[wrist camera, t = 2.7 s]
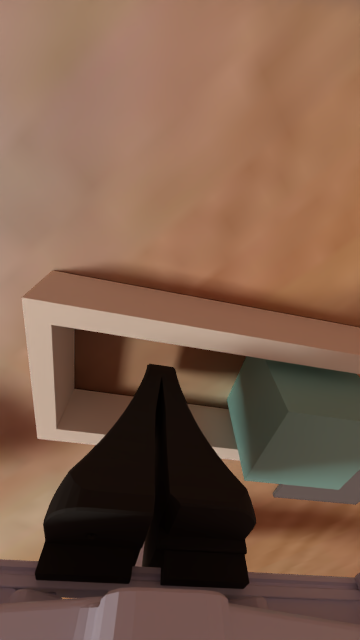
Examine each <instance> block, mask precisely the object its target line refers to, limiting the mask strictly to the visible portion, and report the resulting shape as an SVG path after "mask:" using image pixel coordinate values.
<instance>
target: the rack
mask: <svg viewBox="0 0 360 640" xmlns="http://www.w3.org/2000/svg"><path fill="white" fill-rule="evenodd" d="M22 305H23V314H24V323H25V332H26V340H27V349H28V358H29V367H30V376H31V385H32V394H33V403H34V412H35V421H36V430H37V439H45V440H54V441H63V442H73V443H82V444H91V445H97V444H98V443H99V442H100V441H101V439H102V438H103V437H104V436H105V435H106V434H107V433H108V432H109V430H110V429H111V428H112V427H113V425H114V424H115V423H116V422H117V420H118V419H119V418H120V416H121V415H122V414H123V412H124V411H125V409H126V408H127V407H128V405H129V403H130V402H131V400H132V399H133V396H125V395H118V394H110V393H103V392H95V391H87V390H80V389H74V361H75V329H81V330H87V331H94V332H100V333H106V334H112V335H119V336H125V337H131V338H137V339H143V340H150V341H156V342H162V343H168V344H175V345H181V346H187V347H193V348H199V349H206V350H212V351H218V352H224V353H231V354H237V355H243V356H249V357H255V358H262V359H268V360H274V361H280V362H287V363H293V364H299V365H305V366H311V367H318V368H324V369H330V370H336V371H343V372H349V373H355V374H360V327H354V326H349V325H344V324H338V323H333V322H328V321H322V320H317V319H311V318H306V317H301V316H295V315H290V314H284V313H279V312H274V311H268V310H263V309H258V308H252V307H247V306H241V305H236V304H231V303H225V302H220V301H214V300H209V299H204V298H198V297H193V296H188V295H182V294H177V293H171V292H166V291H161V290H155V289H150V288H144V287H139V286H134V285H128V284H123V283H118V282H112V281H107V280H101V279H96V278H91V277H85V276H80V275H74V274H69V273H64V272H58V271H53V270H52V271H51V272H50V273H49V274H48V275H47V276H46V277H44V278H43V279H42V280H41V281H40V282H39V283H38V284H36V285H35V286H34V287H33V288H32V289H31V290H30V291H28V292H27V293H26V294H25V295H24V296H23V297H22ZM187 405H188V407H189V409H190V411H191V413H192V415H193V417H194V419H195V421H196V423H197V424H198V426H199V428H200V429H201V431H202V433H203V434H204V436H205V437H206V439H207V441H208V442H209V444H210V445H211V446H212V448H213V449H214V450H215V452H216V453H217V455H218V456H219V457H220V458H221V459H230V460H240V457H239V453H238V448H237V444H236V439H235V435H234V430H233V426H232V421H231V417H230V412H229V409H223V408H216V407H208V406H201V405H193V404H187Z"/></svg>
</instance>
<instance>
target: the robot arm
mask: <svg viewBox="0 0 360 640" xmlns="http://www.w3.org/2000/svg"><path fill="white" fill-rule="evenodd" d="M255 524H256V517H255V513H254V509H253V505H252V502H251V499H250V497H249V494H248V491H247V489H246V488H245V486H244V485H243V484H242V483H241V482H240V481H239V480H238V479H237V478H236V477H235V476H234V475H233V473H232V472H231V471H230V470H229V469H228V467H227V466H226V465H225V464H224V462H223V461H222V460H221V459H220V457H219V456H218V455H217V453H216V452H215V450H214V449H213V448H212V446H211V445H210V444H209V442H208V441H207V439H206V437H205V436H204V434H203V433H202V431H201V429H200V428H199V426H198V424H197V423H196V421H195V419H194V417H193V415H192V413H191V411H190V409H189V407H188V405H187V402H186V400H185V398H184V395H183V393H182V390H181V388H180V385H179V382H178V379H177V375H176V371H175V369H174V367H168V366H161V365H154V364H149V365H147V370H146V373H145V375H144V378H143V380H142V382H141V384H140V386H139V388H138V390H137V392H136V394H135V395H134V397H133V399H132V400H131V402H130V403H129V405H128V407H127V408H126V409H125V411H124V412H123V414H122V415H121V416H120V418H119V419H118V420H117V422H116V423H115V424H114V425H113V427H112V428H111V429H110V430H109V432H108V433H107V434H106V435H105V436H104V437H103V438H102V439H101V441H100V442H99V443H98V444H97V445H96V446H95V447H94V448H93V449H92V450H91V451H90V452H89V453H88V454H87V455H86V456H85V457H84V458H83V459H82V460H81V461H80V462H78V463H77V464H76V465H75V466H74V467H73V468H72V469H71V470H70V471H69V472H68V474H67V475H66V477H65V478H64V480H63V481H62V483H61V484H60V486H59V487H58V489H57V491H56V493H55V494H54V496H53V498H52V500H51V503H50V505H49V508H48V510H47V513H46V516H45V519H44V523H43V526H44V533H45V544H44V547H43V550H42V553H41V556H40V559H39V561H20V560H1V559H0V640H360V573H359V574H357V575H356V576H355V578H351V577H332V576H312V575H293V574H273V573H254V572H248V571H247V566H246V560H245V555H244V554H246V553H247V548H246V543H245V538H246V537H247V536H248V535H249V533H250V532H251V531H252V530H253V528H254V526H255ZM61 597H65V598H73V599H62V598H61Z"/></svg>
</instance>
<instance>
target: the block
mask: <svg viewBox="0 0 360 640" xmlns="http://www.w3.org/2000/svg"><path fill="white" fill-rule="evenodd" d="M227 403H228V407H229V412H230V417H231V421H232V426H233V430H234V435H235V439H236V444H237V448H238V453H239V457H240V462H241V467H242V471H243V476H244V480H245V481H255V482H265V483H275V484H285V485H295V486H305V487H315V488H325V489H335V490H339V489H340V488H341V487H342V486H343V485H344V484H345V483H346V482H347V481H348V480H349V479H350V478H351V477H352V476H353V475H354V474H355V473H356V472H357V471H359V470H360V377H359V376H358V375H357V374H355V373H349V372H343V371H336V370H330V369H324V368H318V367H311V366H305V365H299V364H293V363H287V362H280V361H274V360H268V359H262V358H255V357H249V356H246V358H245V360H244V362H243V365H242V367H241V369H240V372H239V374H238V376H237V378H236V381H235V383H234V385H233V387H232V390H231V392H230V394H229V396H228V399H227Z"/></svg>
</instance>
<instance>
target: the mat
mask: <svg viewBox="0 0 360 640" xmlns="http://www.w3.org/2000/svg"><path fill="white" fill-rule="evenodd" d="M273 496H274V497H278V498H289V499H300V500H311V501H322V502H333V503H344V504H355V505H356V504H357V503H358V502H360V470H359V471H357V472H356V473H355V474H354V475H353V476H352V477H351V478H350V479H349V480H348V481H347V482H346V483H345V484H344V485H343V486H342V487H341V488H340V489H339V490H335V489H325V488H315V487H305V486H295V485H285V484H280V485H279V486H278V487H277V488H276V490H275V491H274V492H273Z"/></svg>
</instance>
